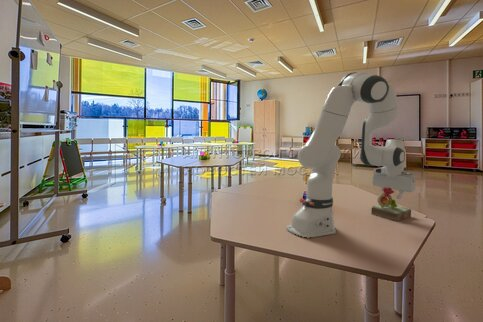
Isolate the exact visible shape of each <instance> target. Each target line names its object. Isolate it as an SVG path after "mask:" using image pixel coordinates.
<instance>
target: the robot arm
mask: <svg viewBox="0 0 483 322" xmlns="http://www.w3.org/2000/svg"><path fill="white" fill-rule="evenodd" d="M356 101H357V102H361V103H362V102H363V103H367V104H368V116H367V117H365V118H364V120H363V123H362V127H361V128H362V129H361V147H360V158H359V159H360V161H361V162H362V164H363V165H365V166H377V167H376V168H373V171H374V173H373V174H372V175H373V176H372V182H371V183H372V186H375V187H380V188H381V191H382V193H384V190H383V189H384V188H391V189H392V190H396V191H398V194H396V199H399V200H401V199H402V195H403V194H404V193H405V192H408V193H412V192H413V193H414V192H415V191H416V175H415V174H413V172H407V171H404V170H405V164H404V162H405V161H406V160H405V159H406V150H405V141H404V140H403V139H400V138H398V139H397V138H388V139H386V142H385V144H384V145H385V146H380V145H379V146H378V145H374V144H372V143H373V132H375V131H377V130H379V129H383V128H385V127H387V126H388V127H389V126H390V125H391V124H393V122H395V121H396V119H397V118H398V115H399V105H398V97H397V92H396V90H395V87H394V85H393V83H391V82H390V81H387V79H386V78H384V77H383V76H380V75H377V74H375V75H374V74H372V73H367V72H356V71H355V72H349V73H347V74H345V75H344V76H343V77H342V78H341V80H340V82H339V83H338V84H337V85H336V86H334V87H332V88H330V91H329V93H328V94H327V96H326V98H325V101H324V103H323V105H322V108H321V111H320V115H319V117H318V120H317V122H316V125H315V127H314V129H313V132H312V133H311V134H310V135H309V136H310V137H309V138H308V139H307V141H306V143H304V145H303V146H301V148H299V151H298V153H297V160H298V163H300V165H301V166H302V167H303V168H308V169H311V172H310V174H309V176H308V178H307V180H306V195H305V198H302V197H300V198H299V203H302V206H301V207H300V208H299V209H298V210H297V211H296V212H295V213H293V215H292V217H291V223H290V224H287V225H286V227H285V228H286V230H287V231H289V232H290V233H291V234H293V235H295V234H296V235H295V236H298V235H299V236H298V237H300V236H302V237H301V238H304V237H307V238H306V239H310V237H311V238H316V237H322V236H329V235H334V234H336V233H337V230H336V227H335V219H334V211H333V205H334V204H333V203H334V199H333V181H334V176H335V172H336V169H337V164H338V161H339V160H340V158H341V156H342V155H341V149H340V147H339V146H338V145H337V144H335V143H336V142H337V140H338V138H340V137H341V136H342V133H343V131H344V129H345V126H346V124H347V120H348V117H349V115H350V112H351V108H352V106H353V105H354V103H356ZM378 166H380V167H378Z"/></svg>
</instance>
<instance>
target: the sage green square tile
mask: <svg viewBox="0 0 483 322" xmlns="http://www.w3.org/2000/svg"><path fill="white" fill-rule="evenodd" d="M386 204H387V203H386ZM411 209H412V208H407V207H404V206H400V205H397V207H394V208H391V205H389V206H387V207H383V208H382V207H381V205H379V204H378V205H375V206H372V207H371V210H370V211H371V212H370V213H371V215H373V216H376V217H377V216H378V217H380V218H384V219H387V220H391V221H394V222H398V221H402V220H406V219H408V218H411V216H412V210H411Z"/></svg>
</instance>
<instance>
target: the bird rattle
mask: <svg viewBox="0 0 483 322" xmlns="http://www.w3.org/2000/svg"><path fill="white" fill-rule="evenodd" d="M383 190H384V193H383V192H382V193H380V194H379V195H378V197H377V203H378V205H381V207H382V208H383V207H387V206H389V205H391V208H394V207H397V206H398V204H397V203H396V199H394V198H393V197H392V194H394V193H395V191H394V189H391V188H384V189H383ZM386 203H387V204H386Z"/></svg>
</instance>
